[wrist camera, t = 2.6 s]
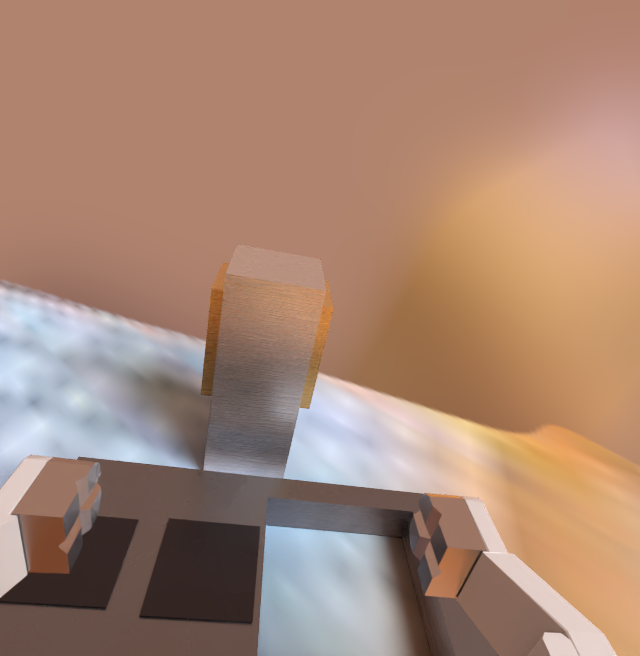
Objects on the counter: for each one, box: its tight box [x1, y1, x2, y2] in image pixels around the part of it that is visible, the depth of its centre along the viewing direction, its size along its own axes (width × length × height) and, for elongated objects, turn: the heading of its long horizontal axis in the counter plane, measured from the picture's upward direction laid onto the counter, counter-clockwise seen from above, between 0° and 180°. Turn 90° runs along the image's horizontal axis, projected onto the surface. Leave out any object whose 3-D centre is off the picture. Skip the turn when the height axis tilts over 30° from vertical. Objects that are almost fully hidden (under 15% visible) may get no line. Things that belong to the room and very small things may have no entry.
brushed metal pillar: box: [201, 244, 333, 479], centre depth 23 cm, size 6×4×12 cm
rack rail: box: [0, 457, 499, 656], centre depth 18 cm, size 20×10×2 cm, turn 93°
